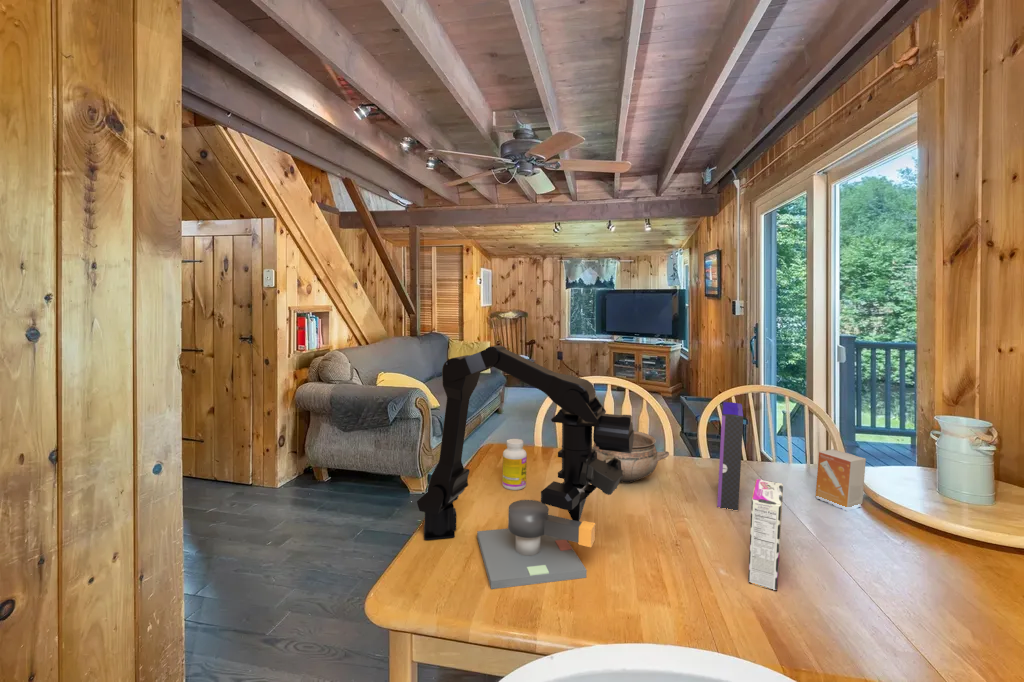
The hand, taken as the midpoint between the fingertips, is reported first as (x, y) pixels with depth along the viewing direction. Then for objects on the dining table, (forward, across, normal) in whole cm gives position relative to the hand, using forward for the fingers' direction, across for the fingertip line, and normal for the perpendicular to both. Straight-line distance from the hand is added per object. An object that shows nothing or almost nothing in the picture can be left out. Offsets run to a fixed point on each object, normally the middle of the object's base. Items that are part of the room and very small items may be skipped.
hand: (576, 523), depth 88 cm
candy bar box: (+9, +17, -32) cm, 37 cm away
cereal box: (+10, +52, -21) cm, 57 cm away
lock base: (+8, -3, +9) cm, 13 cm away
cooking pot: (+10, +48, +6) cm, 50 cm away
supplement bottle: (+9, +25, +30) cm, 40 cm away
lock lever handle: (+2, -2, +5) cm, 6 cm away
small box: (+11, +63, -46) cm, 79 cm away
